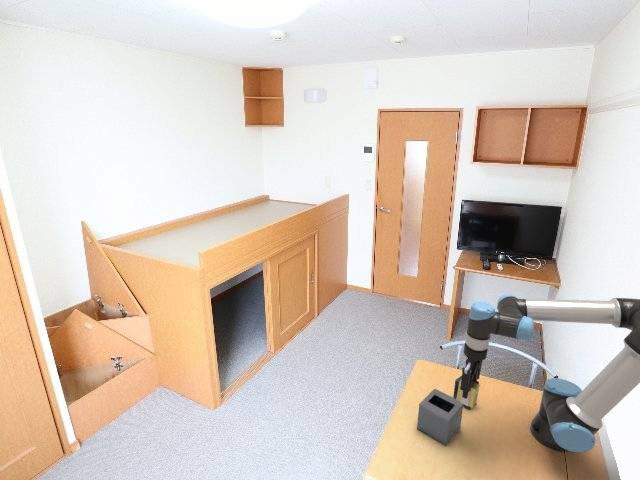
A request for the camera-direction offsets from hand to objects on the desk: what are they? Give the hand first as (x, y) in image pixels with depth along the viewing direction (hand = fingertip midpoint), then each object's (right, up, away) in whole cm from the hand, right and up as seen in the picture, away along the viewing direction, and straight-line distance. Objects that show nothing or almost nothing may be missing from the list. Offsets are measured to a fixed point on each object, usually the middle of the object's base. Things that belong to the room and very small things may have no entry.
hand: (466, 400), depth 140 cm
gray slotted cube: (-7, -15, +10) cm, 19 cm away
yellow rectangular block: (0, 0, 0) cm, 0 cm away
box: (+8, -11, +24) cm, 27 cm away
